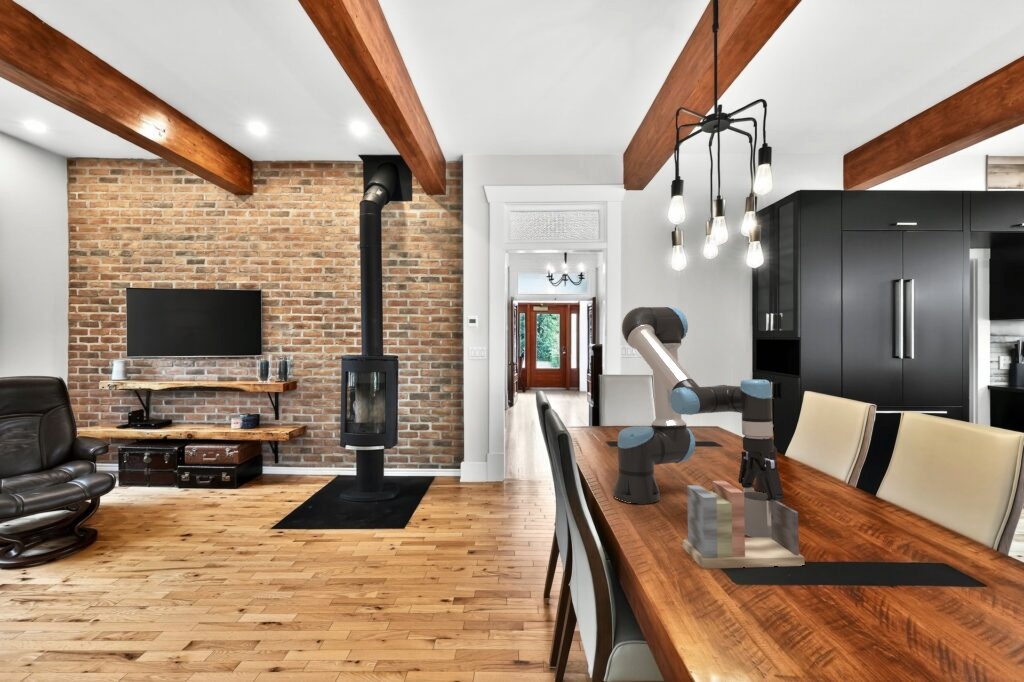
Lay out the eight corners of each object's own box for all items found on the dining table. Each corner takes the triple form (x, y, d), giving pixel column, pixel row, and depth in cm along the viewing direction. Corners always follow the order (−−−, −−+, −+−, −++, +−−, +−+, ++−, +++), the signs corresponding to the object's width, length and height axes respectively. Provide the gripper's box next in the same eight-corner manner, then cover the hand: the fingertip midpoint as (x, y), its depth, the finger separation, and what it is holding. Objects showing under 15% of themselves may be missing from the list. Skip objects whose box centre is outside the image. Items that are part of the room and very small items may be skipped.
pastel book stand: (682, 547, 126) (681, 480, 126) (775, 544, 127) (774, 478, 127) (702, 568, 114) (701, 494, 114) (804, 565, 115) (803, 492, 115)
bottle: (781, 491, 171) (780, 433, 172) (771, 494, 168) (770, 435, 168) (762, 486, 177) (761, 430, 177) (751, 490, 173) (750, 433, 173)
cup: (762, 541, 129) (761, 502, 129) (734, 531, 136) (734, 494, 136) (782, 535, 133) (782, 497, 133) (755, 525, 140) (754, 490, 140)
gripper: (797, 443, 123) (801, 532, 122) (748, 430, 146) (751, 505, 145) (768, 444, 122) (771, 533, 121) (723, 430, 146) (726, 505, 145)
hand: (760, 518), depth 133 cm, fingers open, 11 cm apart
